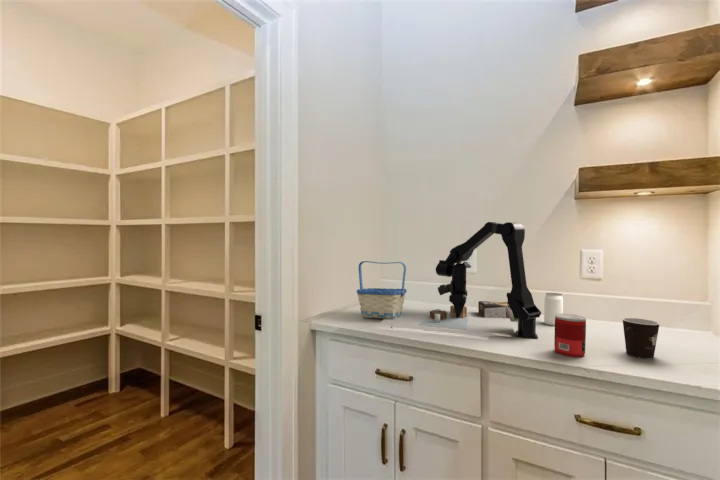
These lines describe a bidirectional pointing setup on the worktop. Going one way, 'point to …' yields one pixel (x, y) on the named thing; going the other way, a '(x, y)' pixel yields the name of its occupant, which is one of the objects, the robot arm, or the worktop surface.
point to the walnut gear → (442, 313)
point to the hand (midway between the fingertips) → (458, 315)
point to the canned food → (570, 335)
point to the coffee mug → (640, 337)
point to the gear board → (445, 321)
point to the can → (552, 307)
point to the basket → (381, 299)
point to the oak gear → (463, 313)
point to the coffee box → (495, 310)
